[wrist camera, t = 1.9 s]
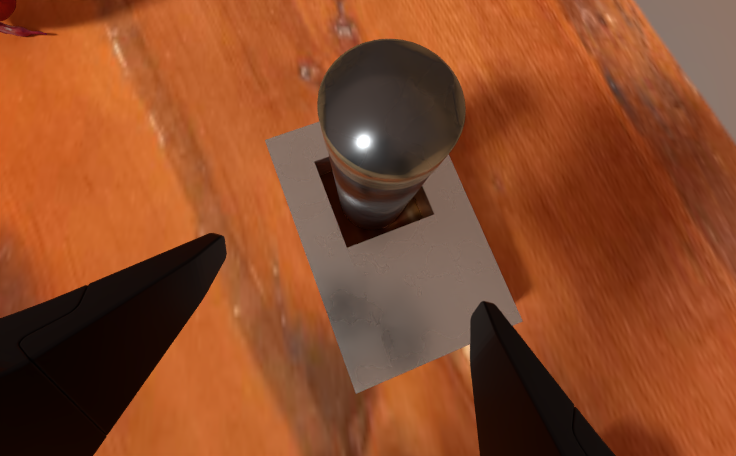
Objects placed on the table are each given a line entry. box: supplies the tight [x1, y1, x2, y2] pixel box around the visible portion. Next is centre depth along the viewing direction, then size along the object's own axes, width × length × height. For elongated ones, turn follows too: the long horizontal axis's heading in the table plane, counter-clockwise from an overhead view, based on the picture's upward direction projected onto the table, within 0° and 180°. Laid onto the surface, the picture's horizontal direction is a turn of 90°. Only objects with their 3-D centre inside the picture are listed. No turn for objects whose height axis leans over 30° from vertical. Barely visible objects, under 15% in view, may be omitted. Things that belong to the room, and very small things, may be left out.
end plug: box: [317, 39, 466, 230], centre depth 16 cm, size 5×5×13 cm
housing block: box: [265, 122, 522, 393], centre depth 21 cm, size 12×18×3 cm, turn 21°
